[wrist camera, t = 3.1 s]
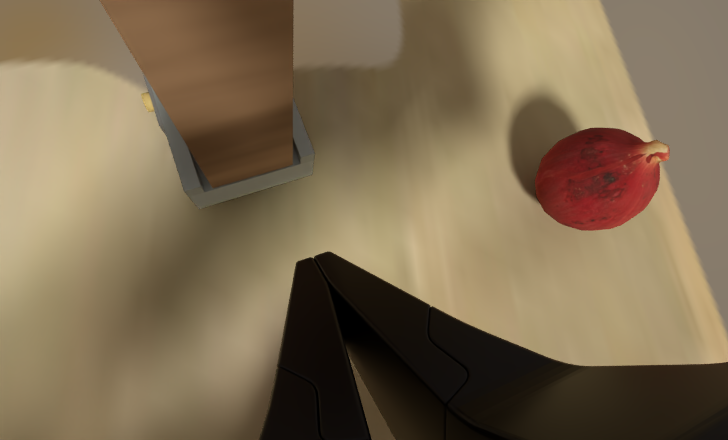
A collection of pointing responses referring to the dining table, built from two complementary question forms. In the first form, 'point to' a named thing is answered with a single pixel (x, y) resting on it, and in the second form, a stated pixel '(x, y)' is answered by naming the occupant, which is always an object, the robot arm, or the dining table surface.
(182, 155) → the grey piece
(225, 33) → the brown rectangular block
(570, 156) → the red oval piece
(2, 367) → the dining table surface
